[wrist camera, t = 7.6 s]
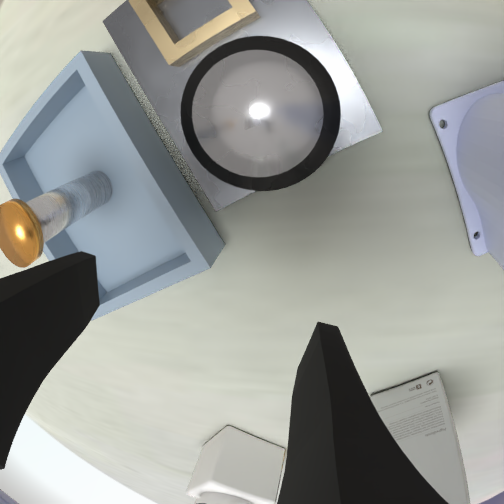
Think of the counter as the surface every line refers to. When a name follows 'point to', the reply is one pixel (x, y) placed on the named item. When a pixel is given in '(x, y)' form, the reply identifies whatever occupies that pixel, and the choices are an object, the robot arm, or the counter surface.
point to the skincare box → (426, 434)
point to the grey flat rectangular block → (244, 88)
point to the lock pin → (49, 215)
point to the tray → (122, 179)
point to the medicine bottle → (237, 470)
